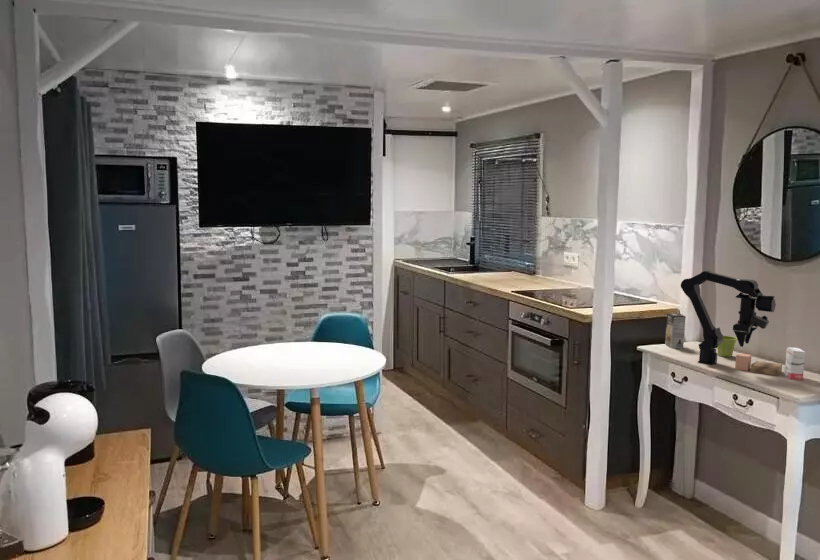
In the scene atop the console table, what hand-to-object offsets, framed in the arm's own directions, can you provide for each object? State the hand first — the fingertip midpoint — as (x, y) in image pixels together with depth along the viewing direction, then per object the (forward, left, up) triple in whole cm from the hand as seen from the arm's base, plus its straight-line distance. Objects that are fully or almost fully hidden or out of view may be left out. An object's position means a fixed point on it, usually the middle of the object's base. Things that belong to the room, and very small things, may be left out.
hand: (744, 345), depth 305 cm
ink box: (+20, -2, -11) cm, 23 cm away
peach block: (0, 0, -10) cm, 10 cm away
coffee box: (-38, +27, -11) cm, 48 cm away
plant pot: (-13, +22, -11) cm, 28 cm away
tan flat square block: (+9, +1, -10) cm, 14 cm away
